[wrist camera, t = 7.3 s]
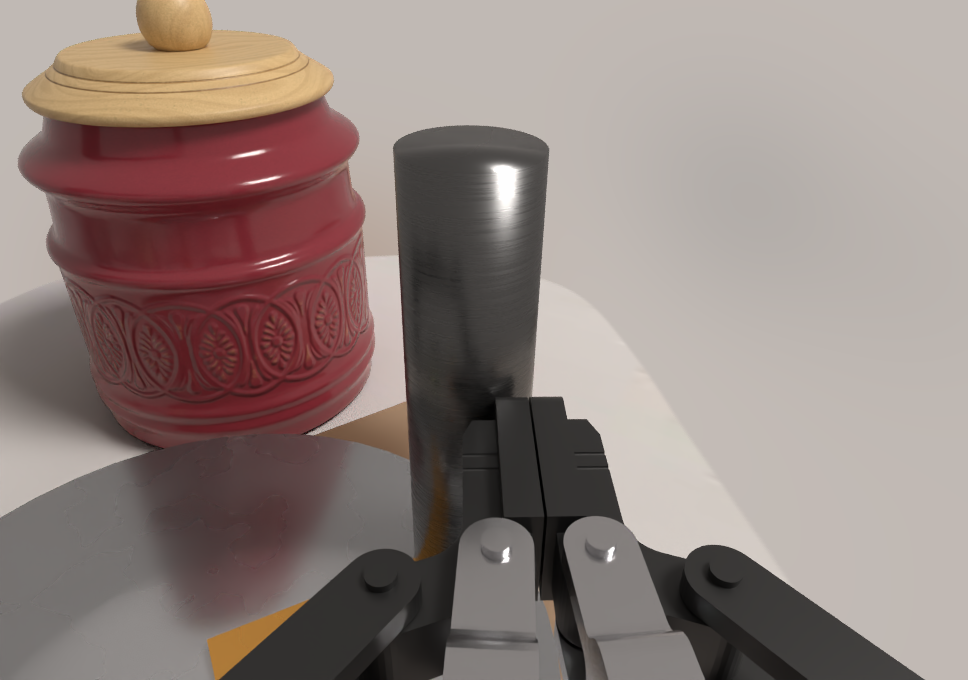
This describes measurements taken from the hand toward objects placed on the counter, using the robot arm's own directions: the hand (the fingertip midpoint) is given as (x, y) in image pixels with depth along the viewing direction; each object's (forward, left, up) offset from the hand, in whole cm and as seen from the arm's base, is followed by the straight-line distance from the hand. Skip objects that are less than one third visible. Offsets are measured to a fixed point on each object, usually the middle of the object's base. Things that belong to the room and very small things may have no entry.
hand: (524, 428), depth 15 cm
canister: (-1, +21, -11) cm, 23 cm away
